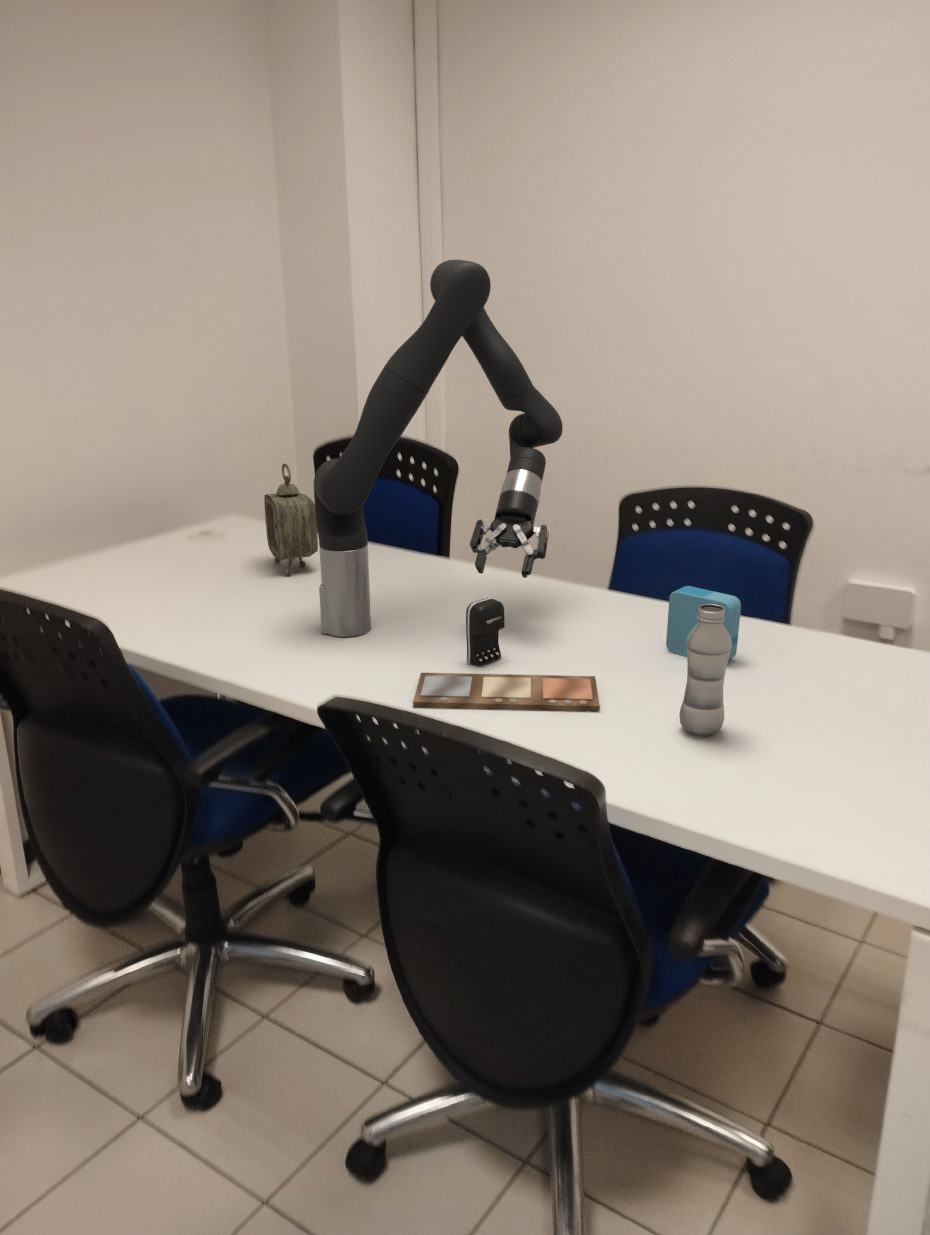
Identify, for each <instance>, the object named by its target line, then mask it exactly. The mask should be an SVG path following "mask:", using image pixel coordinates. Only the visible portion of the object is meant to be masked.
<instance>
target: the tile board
mask: <svg viewBox="0 0 930 1235" xmlns="http://www.w3.org/2000/svg"><path fill="white" fill-rule="evenodd" d="M600 706H601V704H600V699H599V693H598V687H597V680H596V676H594V675H558V674H557V675H554V674H553V675H552V674H551V675H550V674H508V673H507V674H506V673H505V674H504V673H503V674H502V673H500V674H499V673H466V672H465V673H463V672H462V673H459V672H458V673H456V672H455V673H454V672H420V675H419V678H418V682H417V686H416V688H415V693H414V696H413V701H412V708H421V709H423V708H424V709H459V710H460V709H464V710H465V709H467V710H469V709H470V710H502V711H503V710H504V711H505V710H507V711H512V710H513V711H547V712H548V711H549V712H550V711H551V712H552V711H553V712H586V711H591V713H594V712H595V713H597V711H600V712H601V710H600V709H601V708H600Z"/></svg>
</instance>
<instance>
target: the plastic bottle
mask: <svg viewBox="0 0 930 1235" xmlns="http://www.w3.org/2000/svg"><path fill="white" fill-rule="evenodd" d="M724 612H725V610H724V607H722V606H719V605H714V604H704V605H701V606H699V610H698V615H697V619H698V620H699V623H698V624H697V625H696V626H695V627H694V628H693V629H692V630H691V632H690V633H689V635H688V637H687V658H686V660H687V661H686V662H687V671H686V672H687V676H686V684H685V691H684V696H683V700H682V702H681V706H680V709H679V724H680V725H681V727H682V728H683V730H684V731H686V732H687V733H689V734H692V735H697V736H712V735H715V734H717V733H718V732H719V731H720V730H721V729H722V727H723V725H724V722H725V706H724V684H725V676H726V672H727V666H728V661H729V660H728V659H729V655H730V650H731V646H732V641H731V637H730V635H729V633H728V631H727V630H726V628H725V627H724V626H723V624H722V623H723V622H724V621H725V617H724Z"/></svg>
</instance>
